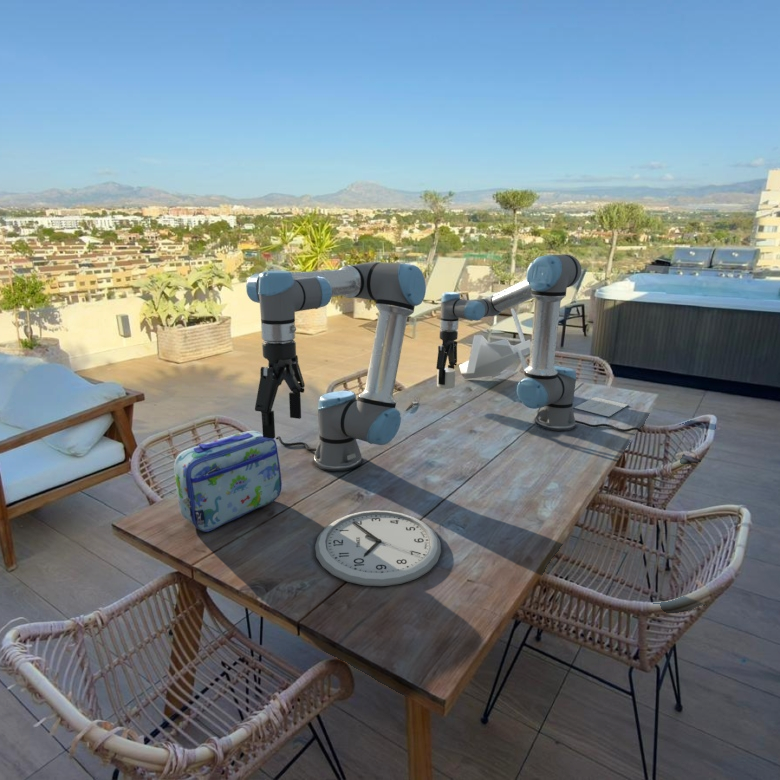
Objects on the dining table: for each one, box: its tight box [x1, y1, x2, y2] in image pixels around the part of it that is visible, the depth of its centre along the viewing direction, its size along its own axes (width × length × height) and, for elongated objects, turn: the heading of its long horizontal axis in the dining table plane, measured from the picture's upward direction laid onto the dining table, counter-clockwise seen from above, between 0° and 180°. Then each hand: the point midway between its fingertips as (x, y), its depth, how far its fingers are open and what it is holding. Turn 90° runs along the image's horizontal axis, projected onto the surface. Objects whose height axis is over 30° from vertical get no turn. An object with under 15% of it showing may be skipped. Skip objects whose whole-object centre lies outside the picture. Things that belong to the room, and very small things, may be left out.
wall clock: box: [314, 509, 442, 587], centre depth 125 cm, size 30×2×30 cm
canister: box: [436, 367, 456, 390], centre depth 226 cm, size 8×8×7 cm
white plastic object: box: [458, 307, 532, 380], centre depth 255 cm, size 37×45×31 cm
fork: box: [405, 396, 421, 411], centre depth 222 cm, size 3×16×2 cm, turn 160°
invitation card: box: [573, 396, 629, 418], centre depth 226 cm, size 21×1×15 cm
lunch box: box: [173, 430, 283, 533], centre depth 135 cm, size 26×11×21 cm, turn 134°
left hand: (283, 427), depth 126 cm, fingers open, 13 cm apart
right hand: (446, 381), depth 226 cm, fingers closed on canister, 8 cm apart
